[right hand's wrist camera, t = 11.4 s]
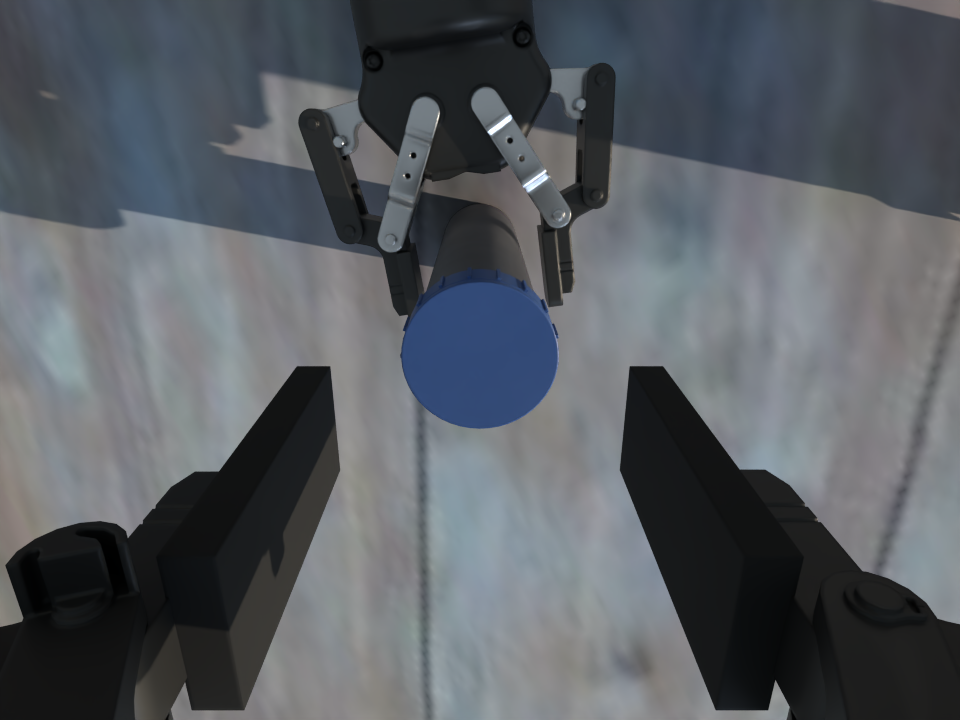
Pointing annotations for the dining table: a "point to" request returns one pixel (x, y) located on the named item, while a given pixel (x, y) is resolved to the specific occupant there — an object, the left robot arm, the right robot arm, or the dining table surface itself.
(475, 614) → the dining table surface
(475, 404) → the lid
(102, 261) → the dining table surface
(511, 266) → the bottle
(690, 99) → the dining table surface
